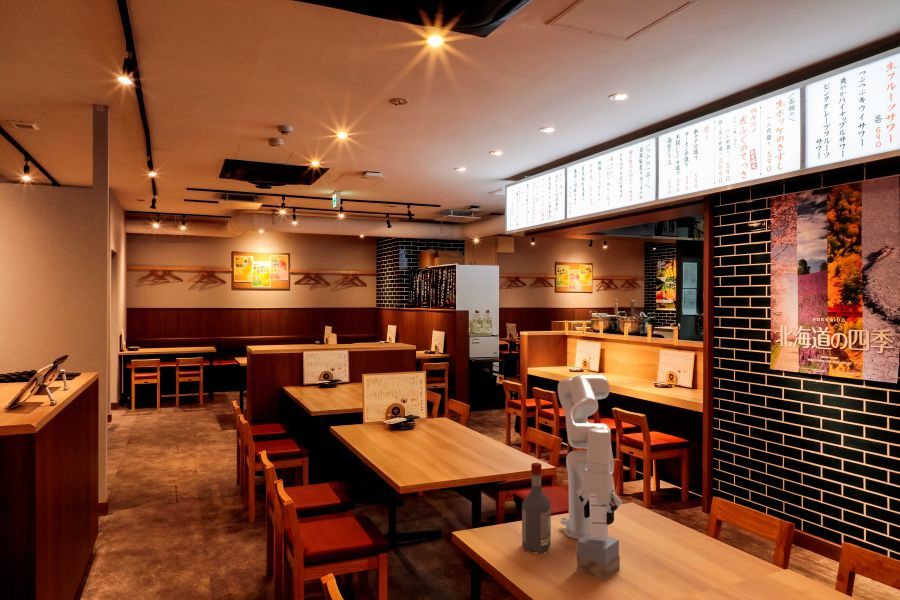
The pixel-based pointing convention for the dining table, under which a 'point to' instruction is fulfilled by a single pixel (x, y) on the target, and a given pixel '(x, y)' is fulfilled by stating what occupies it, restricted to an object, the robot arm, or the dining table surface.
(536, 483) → the liquor
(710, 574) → the dining table surface
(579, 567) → the walnut block
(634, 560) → the dining table surface
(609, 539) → the grey square block
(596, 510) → the syrup box
